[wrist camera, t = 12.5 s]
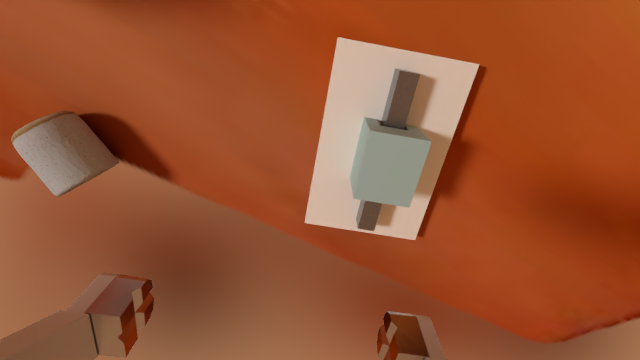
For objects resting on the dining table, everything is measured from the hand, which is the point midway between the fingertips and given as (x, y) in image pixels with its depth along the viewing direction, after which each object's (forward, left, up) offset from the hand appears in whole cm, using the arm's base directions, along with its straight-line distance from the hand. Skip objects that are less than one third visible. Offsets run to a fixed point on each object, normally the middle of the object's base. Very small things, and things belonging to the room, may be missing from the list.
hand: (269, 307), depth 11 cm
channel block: (+3, +10, -29) cm, 31 cm away
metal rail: (+3, +10, -29) cm, 31 cm away
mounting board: (+3, +10, -31) cm, 32 cm away
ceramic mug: (+10, -29, -31) cm, 43 cm away
